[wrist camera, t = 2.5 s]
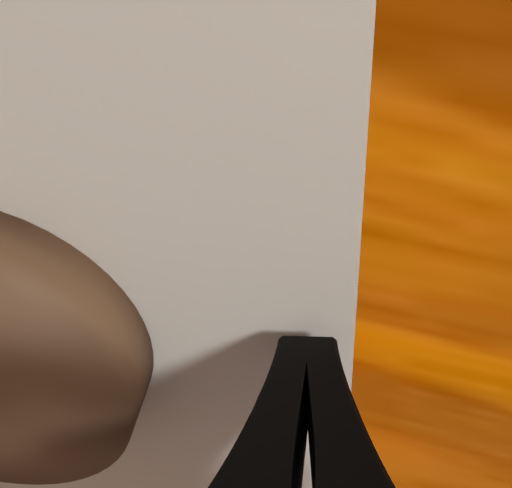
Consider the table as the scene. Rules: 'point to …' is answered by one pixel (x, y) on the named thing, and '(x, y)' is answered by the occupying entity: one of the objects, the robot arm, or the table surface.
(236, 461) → the robot arm
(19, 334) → the brown flat pebble
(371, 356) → the table surface
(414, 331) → the table surface
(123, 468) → the ledge
